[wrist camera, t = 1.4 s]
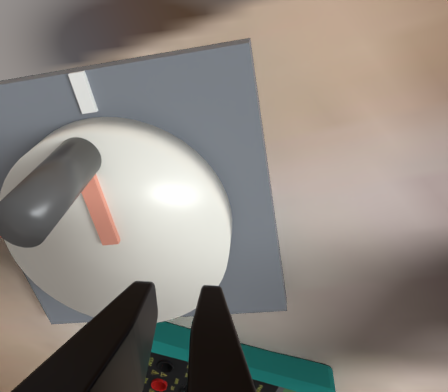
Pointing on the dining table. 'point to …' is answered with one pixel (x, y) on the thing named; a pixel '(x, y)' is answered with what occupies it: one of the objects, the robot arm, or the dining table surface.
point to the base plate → (178, 126)
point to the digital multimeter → (255, 357)
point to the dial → (116, 216)
